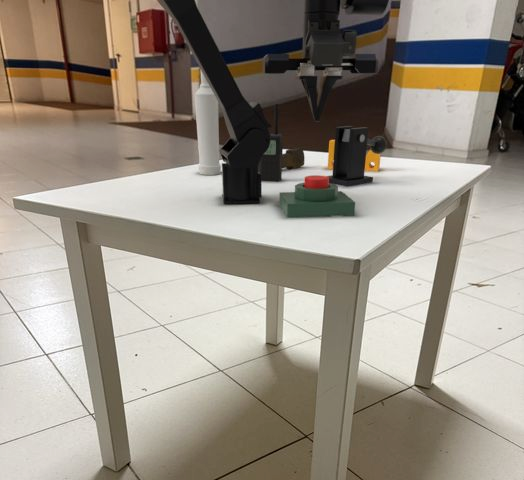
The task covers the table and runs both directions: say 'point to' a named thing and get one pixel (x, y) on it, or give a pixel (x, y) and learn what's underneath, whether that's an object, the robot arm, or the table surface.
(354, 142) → the bracket
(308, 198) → the button box
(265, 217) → the table surface
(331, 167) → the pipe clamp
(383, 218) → the table surface
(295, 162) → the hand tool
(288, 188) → the table surface
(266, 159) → the walkie-talkie
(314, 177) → the button
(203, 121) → the bottle
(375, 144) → the lever
